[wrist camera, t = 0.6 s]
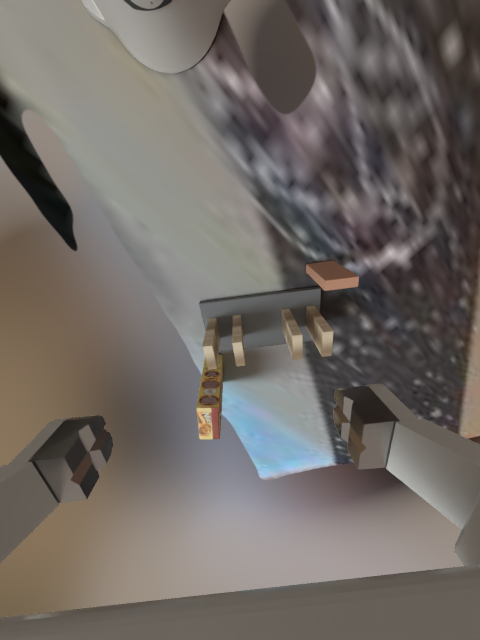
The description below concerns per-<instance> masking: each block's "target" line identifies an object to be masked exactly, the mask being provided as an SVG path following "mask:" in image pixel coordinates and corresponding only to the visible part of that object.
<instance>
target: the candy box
mask: <svg viewBox="0 0 480 640" xmlns="http://www.w3.org/2000/svg"><path fill="white" fill-rule="evenodd" d="M222 389H223V363H222V355H220V354H219V356H218V366H217V369H210V370H208V367H207V363H206V359H205V361H204V366H203V372H202V378H201V384H200V390H199V396H198V401H197V407H196V408H197V409H196V410H197V420H198V429H199V437H200V439H219V438H220V430H221V411H222Z"/></svg>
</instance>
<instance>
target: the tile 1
mask: <svg viewBox="0 0 480 640" xmlns="http://www.w3.org/2000/svg"><path fill="white" fill-rule="evenodd" d="M202 347H203V351H204V355H205V359H206V363H207V367H208V370H210V369H217V366H218V356H219V347H220V333H219V328H218V323H217V319H216V318H210V319H208V324H207V328H206V333H205V337H204V342H203V346H202Z"/></svg>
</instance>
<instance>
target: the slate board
mask: <svg viewBox="0 0 480 640" xmlns="http://www.w3.org/2000/svg"><path fill="white" fill-rule="evenodd" d="M320 297H321V288H320V287H319V286H318V287H310V288H302V289H294V290H286V291H279V292H271V293H263V294H255V295H247V296H239V297H232V298H224V299H216V300H208V301H200V303H199V305H200V309H201V313H202V318H203V322H204V326H205V330H206V328H207V324H208V319H210V318H216V319H217V323H218V328H219V333H220V347H219V352H220V351H228V350H233V345H232V327H233V316H234V315H241V322H242V329H243V337H244V349H245V348H254V347H262V346H271V345H279V344H287V342H286V339H285V336H284V333H283V331H282V309H290V311H291V313H292V315H293V317H294V319H295V321H296V323H297V325H298V327H299V329H300V331H301V333H302V342H305V341H313V339H312V338H311V336H310V334H309V332H308V330H307V329H306V306H315V307H316V309H317V310H318V311H319V313H320Z"/></svg>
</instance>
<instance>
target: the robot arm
mask: <svg viewBox="0 0 480 640" xmlns="http://www.w3.org/2000/svg"><path fill="white" fill-rule="evenodd" d="M82 2H83V4H84V5H85V7H86V9H87V10H88V12H89V13H90V14H91V15H92V16H93V17H94V18H95V19H96V20H98V21H99V22H101V23H102V24H104V25H105V26H107V27H108V28H110V29H111V30H112V31H113V32H114V33H115V34H116V35H117V37H118V38H119V39H120V41H121V42H122V43H123V45H124V46H125V47H126V48H127V50H128V51H129V52H130V53H131V54H132V55H133V56H134V57H135V58H136V59H137V60H139V61H140V62H141V63H142V64H144V65H145V66H147V67H149V68H151V69H153V70H156V71H158V72H163V73H178V72H182V71H185V70H187V69H189V68H191V67H193V66H194V65H195V64H197V63H198V62H199V61H200V60H201V59H202V58H203V56H204V55H205V54H206V52H207V51H208V49H209V48H210V46H211V44H212V42H213V40H214V38H215V35H216V32H217V29H218V26H219V23H220V19H221V16H222V13H223V11H224V9H225V7H226V6H227V4H228V3H229V2H230V0H82ZM334 399H335V400H336V402H337V405H336V406H335V408H334V413H333V417H334V422H335V426H336V429H337V431H338V433H339V435H340V437H341V438H342V439H344V440H345V441H347V442H348V448H347V450H348V452H349V454H350V455H351V457H352V459H353V461H354V463H355V464H356V466H357V468H358V469H371V468H383V467H387V468H386V469H387V470H388V471H390V472H391V473H392V474H393V475H395V476H396V477H397V478H399V479H400V480H401V481H402V482H403V483H405V484H406V485H407V486H408V487H410V488H411V489H412V490H413V491H415V492H416V493H417V494H418V495H419V496H421V497H422V498H423V499H424V500H426V501H427V502H428V503H429V504H431V505H432V506H433V507H434V508H436V509H437V510H438V511H439V512H441V513H442V514H443V515H444V516H446V517H447V518H448V519H449V520H451V521H452V522H453V523H454V524H455V525H457V526H458V527H459V528H461V529H462V531H461V533H460V536H459V538H458V540H457V542H456V544H455V553H456V554H457V556H458V557H459V559H460V560H461V562H462V563H463V565H464V566H463V567H454V568H445V569H435V570H426V571H418V572H408V573H399V574H390V575H381V576H373V577H363V578H354V579H345V580H336V581H327V582H318V583H309V584H299V585H290V586H281V587H272V588H264V589H254V590H246V591H236V592H227V593H218V594H209V595H200V596H190V597H182V598H172V599H163V600H154V601H146V602H136V603H127V604H118V605H109V606H101V607H91V608H82V609H73V610H64V611H55V612H46V613H38V614H29V615H19V616H10V617H1V618H0V640H480V445H479V444H477V443H475V442H473V441H471V440H469V439H466V438H464V437H462V436H460V435H458V434H456V433H454V432H451V431H449V430H447V429H445V428H443V427H441V426H438V425H436V424H434V423H432V422H430V421H428V420H425V419H418V418H417V417H416V416H415V415H414V414H413V413H412V412H411V411H410V410H409V409H408V408H407V407H406V406H405V405H404V404H403V403H402V402H401V401H400V400H399V399H398V398H397V397H396V396H395V395H394V394H393V393H392V392H391V391H390V390H389V389H388V388H387V387H386V386H384V385H382V384H373V385H366V386H359V387H350V388H342V389H336V391H335V396H334ZM105 425H106V423H105V421H104V419H103V417H102V416H98V415H96V416H84V417H72V418H64V419H55V420H53V421H51V422H49V423H48V424H47V425H46V426H45V427H44V428H43V429H42V430H41V431H40V432H39V433H38V434H37V435H36V437H35V438H34V439H33V440H32V441H31V442H30V443H29V444H28V445H27V446H26V447H25V448H24V449H23V450H22V451H21V452H20V453H19V454H18V455H17V456H16V457H15V458H14V459H13V460H12V462H10V463H9V465H3V466H1V467H0V563H1V562H2V561H3V560H4V559H5V558H6V557H7V556H8V555H9V554H10V553H11V552H12V551H13V550H14V549H15V548H16V547H17V546H18V545H19V544H20V543H21V542H22V541H23V540H24V539H25V538H26V537H27V536H28V535H29V534H30V533H31V532H32V531H33V530H34V529H35V528H36V527H37V526H38V525H39V524H40V523H41V522H42V521H43V520H44V519H45V518H46V517H47V516H48V515H49V514H50V513H51V512H52V511H53V510H54V509H55V508H56V507H57V506H58V505H59V504H58V503H64V502H72V501H79V500H86V499H88V497H89V495H90V493H91V491H92V489H93V487H94V486H95V484H96V482H97V480H98V478H99V473H98V470H99V469H101V468H102V467H103V466H104V465H105V464H106V463H107V461H108V459H109V457H110V455H111V452H112V447H113V442H112V437H111V435H110V433H109V432H107V431H106V430H105V429H104V427H105Z"/></svg>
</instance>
